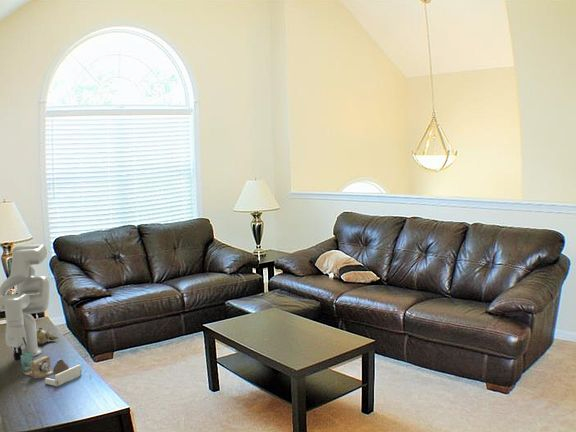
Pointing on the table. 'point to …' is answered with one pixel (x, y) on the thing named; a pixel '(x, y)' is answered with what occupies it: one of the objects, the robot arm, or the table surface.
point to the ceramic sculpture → (44, 336)
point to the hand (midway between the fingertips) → (18, 359)
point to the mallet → (27, 360)
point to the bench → (35, 368)
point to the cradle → (65, 376)
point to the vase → (60, 367)
